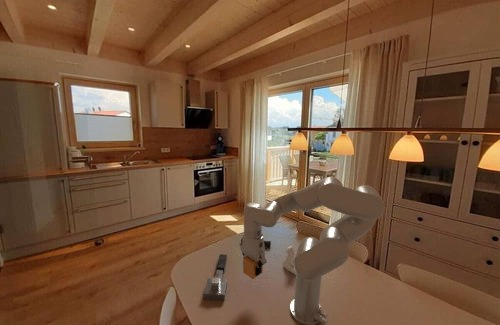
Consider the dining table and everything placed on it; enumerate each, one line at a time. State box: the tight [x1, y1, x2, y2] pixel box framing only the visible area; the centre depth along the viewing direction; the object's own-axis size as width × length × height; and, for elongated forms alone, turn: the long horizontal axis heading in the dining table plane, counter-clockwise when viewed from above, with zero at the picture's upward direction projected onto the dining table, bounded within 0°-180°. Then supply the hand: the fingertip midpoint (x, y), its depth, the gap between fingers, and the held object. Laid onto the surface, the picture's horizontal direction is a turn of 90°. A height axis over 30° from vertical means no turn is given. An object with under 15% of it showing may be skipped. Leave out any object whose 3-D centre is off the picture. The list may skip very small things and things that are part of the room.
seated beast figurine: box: [282, 245, 296, 276], centre depth 112 cm, size 10×9×12 cm
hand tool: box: [240, 237, 272, 249], centre depth 134 cm, size 19×4×5 cm, turn 74°
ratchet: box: [202, 253, 228, 302], centre depth 105 cm, size 29×9×6 cm, turn 179°
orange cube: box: [242, 256, 264, 280], centre depth 92 cm, size 6×6×7 cm
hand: (252, 270), depth 93 cm, fingers closed on orange cube, 6 cm apart
